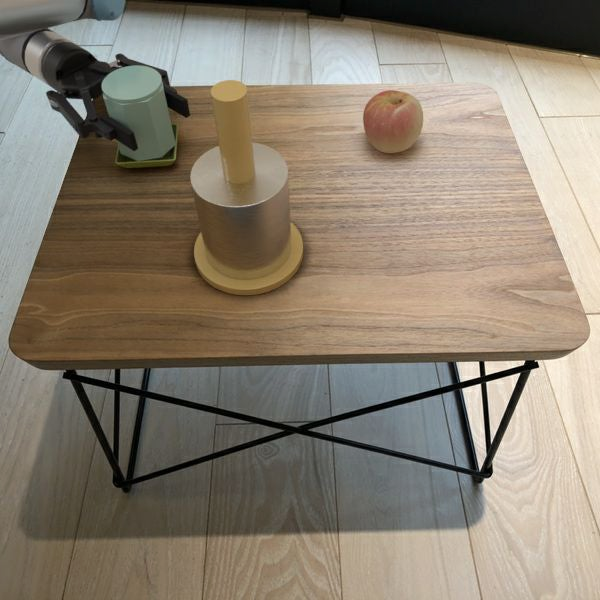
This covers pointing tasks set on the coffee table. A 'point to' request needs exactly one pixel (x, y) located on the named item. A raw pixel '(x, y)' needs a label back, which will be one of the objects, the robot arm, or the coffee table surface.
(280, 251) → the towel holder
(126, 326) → the coffee table surface
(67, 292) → the coffee table surface
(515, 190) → the coffee table surface
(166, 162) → the saucer
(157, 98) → the jar
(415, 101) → the apple
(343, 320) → the coffee table surface
